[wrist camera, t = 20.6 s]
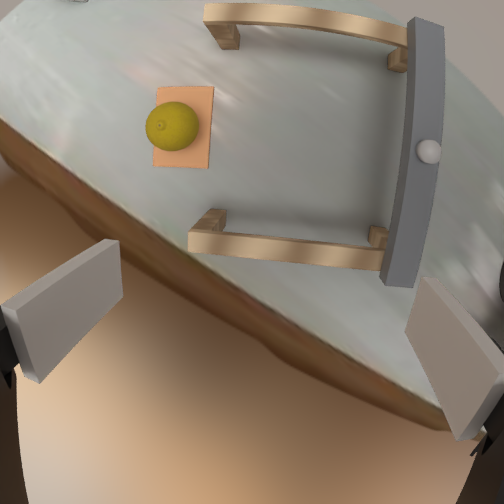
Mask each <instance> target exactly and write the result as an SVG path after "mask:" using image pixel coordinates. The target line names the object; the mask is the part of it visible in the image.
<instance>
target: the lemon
mask: <svg viewBox="0 0 504 504" xmlns="http://www.w3.org/2000/svg"><path fill="white" fill-rule="evenodd" d="M198 131H199V120H198V117H197V115H196V113H195V112H194V110H193V109H192V108H191V107H189V106H188V105H186V104H184V103H181V102H173V101H172V102H166V103H163V104H161V105H159V106H157V107H156V108H155V109H153V110H152V112H151V113H150V114H149V116H148V118H147V121H146V134H147V137H148V139H149V140H150V142H151V143H152V144H153V145H154V146H156V147H157V148H159V149H161V150H165V151H178V150H182V149H184V148H186V147H187V146H189V145H190V144H191V143H192V142H193V141H194V140H195V138H196V137H197V134H198Z"/></svg>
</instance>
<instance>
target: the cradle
mask: <svg viewBox="0 0 504 504" xmlns="http://www.w3.org/2000/svg"><path fill="white" fill-rule="evenodd" d="M203 22H204V24H205V25H206V27H207V28H208V30H209V31H210V32H211V34H212V35H213V37H214V38H215V40H216V41H217V43H218V44H219V46H220V47H221V49H236V50H239V41H240V34H239V31H238V29H237V26H236V24H239V25H266V26H280V27H292V28H301V29H310V30H317V31H324V32H331V33H337V34H343V35H348V36H353V37H358V38H363V39H368V40H372V41H377V42H381V43H385V44H389V45H393V46H397V47H398V48H397V49H396V50H394V51H393V52H391V53H390V54H389V55H388V69H389V70H393V71H397V72H400V73H404V72H406V71H407V62H408V35H407V28H405V27H402V26H398V25H394V24H391V23H387V22H383V21H379V20H375V19H371V18H366V17H362V16H357V15H352V14H347V13H341V12H336V11H329V10H323V9H316V8H308V7H299V6H289V5H276V4H257V3H212V4H205V9H204V16H203ZM225 224H226V210H218V209H210V210H209V211H208V212H207V213H206V214H205V215H204V216H203V217H202V218H201V219H200V220H199V221H198V222H197V223H196V224H195V225H194V226H193V227H192V228H191V229H190V230H189V231H188V252H196V253H205V254H215V255H224V256H234V257H243V258H253V259H263V260H272V261H282V262H292V263H302V264H312V265H322V266H332V267H342V268H352V269H362V270H372V271H381V267H382V263H383V258H384V254H385V249H386V244H387V239H388V234H389V231H388V230H387V229H386V228H383V227H375V226H371V227H370V232H369V238H368V242H369V243H370V244H371V246H372V247H365V246H356V245H347V244H338V243H329V242H320V241H310V240H301V239H292V238H282V237H272V236H262V235H252V234H242V233H232V232H222V231H223V229H224V227H225Z"/></svg>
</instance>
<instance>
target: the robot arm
mask: <svg viewBox="0 0 504 504" xmlns="http://www.w3.org/2000/svg"><path fill="white" fill-rule="evenodd" d="M500 293H501V297H502V300H503V302H504V264H503V268H502V272H501V277H500ZM122 297H123V290H122V278H121V265H120V249H119V241H117V240H109V239H104V240H102V241H101V242H99V243H97V244H95V245H94V246H92V247H90V248H89V249H87V250H85V251H84V252H82V253H80V254H79V255H77V256H75V257H74V258H72V259H70V260H69V261H67V262H66V263H64V264H63V265H61V266H59V267H57V268H56V269H54V270H53V271H51V272H49V273H48V274H46V275H45V276H43V277H42V278H40V279H39V280H37V281H35V282H34V283H32V284H31V285H29V286H28V287H26V288H25V289H24V290H22V291H20V292H19V293H18V294H16V295H15V296H13V297H12V298H10V299H9V300H7V301H6V302H4V303H3V304H1V305H0V504H29V502H28V498H27V493H26V488H25V482H24V477H23V469H22V462H21V455H20V446H19V435H18V422H17V395H16V394H17V392H16V380H17V379H16V373H15V371H14V367H15V366H16V365H17V364H18V363H19V364H20V366H21V369H22V372H23V374H24V377H27V378H28V379H31V380H33V381H35V382H37V383H39V384H40V383H41V382H42V381H43V380H44V379H45V378H46V377H47V375H48V374H49V373H50V372H51V371H52V370H53V369H54V368H55V367H56V366H57V364H58V363H59V362H60V361H61V360H62V359H63V358H64V357H65V356H66V355H67V354H68V353H69V352H70V351H71V350H72V348H73V347H74V346H75V345H76V344H77V343H78V342H79V341H80V340H81V339H82V338H83V337H84V336H85V335H86V334H87V333H88V332H89V331H90V330H91V329H92V328H93V327H94V326H95V324H97V322H98V321H99V320H100V319H101V318H102V317H103V316H104V315H105V314H106V313H107V312H108V311H109V310H110V309H111V308H112V307H113V306H114V305H115V304H116V303H117V302H118V301H119V300H120V299H121V298H122ZM405 333H406V335H407V337H408V339H409V341H410V343H411V345H412V347H413V349H414V351H415V353H416V355H417V357H418V359H419V361H420V363H421V365H422V367H423V369H424V371H425V373H426V375H427V377H428V379H429V381H430V383H431V385H432V388H433V390H434V392H435V394H436V396H437V398H438V401H439V403H440V405H441V407H442V409H443V412H444V414H445V416H446V419H447V421H448V423H449V426H450V428H451V430H452V433H453V435H454V438H455V440H456V441H462V440H467V439H473V438H474V437H475V436H476V435H477V433H478V432H479V430H480V429H481V428H482V426H483V425H484V427H485V429H486V431H487V433H486V435H485V436H484V437H483V439H482V440H481V441H480V442H479V444H478V445H477V446H476V448H475V449H474V450H473V451H472V453H471V454H470V456H473V455H474V454H475V453H476V452H477V455H476V457H475V460H474V463H473V466H472V468H471V470H470V473H469V475H468V478H467V480H466V482H465V485H464V487H463V489H462V491H461V493H460V496H459V498H458V500H457V502H456V504H504V351H503V350H501V348H500V346H499V345H498V344H497V343H496V341H495V340H494V339H492V338H491V337H489V336H488V335H487V334H486V333H485V331H484V330H483V329H482V328H481V327H480V325H479V324H478V323H477V322H476V321H475V320H474V319H473V317H472V316H471V315H470V314H469V313H468V312H467V311H466V309H465V308H464V307H463V306H462V305H461V304H460V303H459V302H458V301H457V300H456V298H455V297H454V296H453V295H452V294H451V293H450V292H449V291H448V290H447V289H446V288H445V287H444V286H443V285H442V284H441V282H440V281H439V280H438V279H437V278H432V277H423V276H422V277H421V281H420V284H419V288H418V291H417V294H416V298H415V301H414V304H413V307H412V311H411V314H410V317H409V320H408V323H407V326H406V329H405Z"/></svg>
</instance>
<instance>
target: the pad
mask: <svg viewBox="0 0 504 504" xmlns="http://www.w3.org/2000/svg"><path fill="white" fill-rule="evenodd" d="M213 95H214V87H160V88H158V91H157V103H156V107H157V106H159V105H161V104H163V103H166V102H172V101H173V102H181V103H184V104H186V105H188V106H189V107H191V108H192V109H193V110H194V112H195V113H196V115H197V117H198V120H199V131H198V134H197V137H196V138H195V140H194V141H193V142H192V143H191V144H190V145H189V146H187V147H186V148H184V149H182V150H178V151H165V150H161V149H159V148H157V147H156V146H154V154H153V166H163V167H188V168H207V169H208V165H209V148H210V134H211V120H212V107H213Z"/></svg>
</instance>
